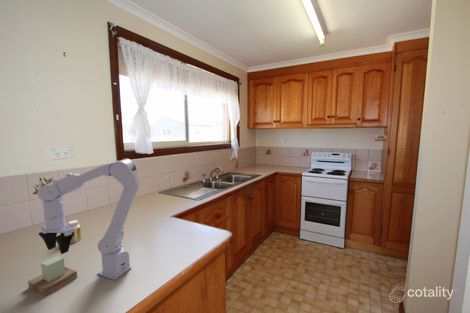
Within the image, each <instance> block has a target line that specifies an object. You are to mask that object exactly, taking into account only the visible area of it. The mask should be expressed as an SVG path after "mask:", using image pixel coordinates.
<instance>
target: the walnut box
mask: <svg viewBox="0 0 470 313" xmlns="http://www.w3.org/2000/svg"><path fill="white" fill-rule="evenodd" d="M77 278H78V272H77V270H74V269H71V268H70V267H66V266H65V274H63V275H62V276H60V277H58V278H56V279H54V280H52V281H50V282H48V281H46V280H44V279H43V278H42V274H40V275H38V276H37V277H34V278H31V280H29V281H28V282H27V283H28V285H27V286H28V289H30V290H32V291H34V292H37V293H39V294H41V295H44V296H48V295H50V294H52V293H53V292H55V291H57V290H58V289H61V287H65V285H67V284H69V283H70V282H72V281H74V280H75V279H77Z"/></svg>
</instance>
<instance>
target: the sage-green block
mask: <svg viewBox="0 0 470 313" xmlns="http://www.w3.org/2000/svg"><path fill="white" fill-rule="evenodd" d="M40 266H41V275H42V278H43V279H44V280H46V281H48V282H50V281H52V280H54V279H56V278H58V277H60V276H62V275H63V274H65V267H66V266H65V259H64V257H62V256H60V255H56V256H53V257H52V258H49V259H47V260H45V261H42V262H41V263H40Z"/></svg>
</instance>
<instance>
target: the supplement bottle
mask: <svg viewBox="0 0 470 313" xmlns="http://www.w3.org/2000/svg"><path fill="white" fill-rule="evenodd" d="M67 226H68V227H69V228H70V229H72V232H74V235H73V237H72V239H71V242H70V244H71V243H76V242H77V243H78V242H79V241H81V240H82V230H81V225H80V224H79V220H78V219H74V220H70V221H69V222H68V225H67Z"/></svg>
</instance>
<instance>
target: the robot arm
mask: <svg viewBox="0 0 470 313" xmlns="http://www.w3.org/2000/svg"><path fill="white" fill-rule="evenodd" d="M138 174H139V173H138V167H137V165H136V163H135V162H134V161H133V160H131V159H130V158H123V159H121V160H116V161H111V162H108V163H105V164H102V165H100V166H98V167H96V168H93V169H90V170H89V171H86V172H84V173H82V174H81V173H76V172H74V173H73V172H69V173H67V174H66V175H65V176H64V177H61V178H59V179H58V178H55V179H53V180H52V182H50V183H47V184H45V183H44V184H43V185H41V186H40V187H39V188H38V190H37V197H38V198H39V199H40V200H42V208H43V217H44V223H43V224H41V225H40V228H41V232H39V233H38V235H39V236H40V237H41V239H42V241H43V242H44V243H45V247H46V248H47V250H48V251H50V250H53V249H55V248H56V247H57V245H58V249H59V252H60V254H61V255H64V254H66V253H67V252H68V253H69V249H70V245H71V243H70V242H71V239H72V237H73V235H74V232H72V229H70V228H69V227H68V226H69V225H67V224H66V223H67V222H66V217H65V216H66V215H65V206H64V204H65V203H64V195H67V194H69V193H72V192H74V191H77V190H78V189H81V188H83V187H84V185H85V183H86V182H89V181H92V180H94V179H97V178H99V177H102V176H105V177H111V176H112V177H113V178H114V179H115V180H116V181H118V182H119V183H120V184H121V186H123V190H122V193H121V195H120V198H119V200H118V203H117V205H116V206H115V207H116V208H115V209H114V213H113V215H112V218H111V220H110V223H109V226H108V227H107V230H106V231H105V233H104V235H103V237H102V238H101V239H100V240H99V242H98V243H97V250H98V251H99V252H100V254H101V256H100V257H101V266H102V268H101V270H99V271H97V273H96V274H97V275H100V276H102V277H105V278H107V279H111V280H116V279H118V278H120V277H121V276H122V275H123V274H125V273H127V271H129V270H131V269H132V268H133V267H132V266H131V265H130V264H131V262H130V254H129V252H128V251H126V250H125V249H124V247H123V244H122V240H123V238H124V229H125V224H126V221H127V219H128V216H129V214H130V211H131V208H132V206H133V204H134V201H135V199H136V198H135V197H136V195H137V193H138V190H139V188H140V185H141V184H140V179H139V178H140V177H139V175H138ZM58 234H59V235H58Z"/></svg>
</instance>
